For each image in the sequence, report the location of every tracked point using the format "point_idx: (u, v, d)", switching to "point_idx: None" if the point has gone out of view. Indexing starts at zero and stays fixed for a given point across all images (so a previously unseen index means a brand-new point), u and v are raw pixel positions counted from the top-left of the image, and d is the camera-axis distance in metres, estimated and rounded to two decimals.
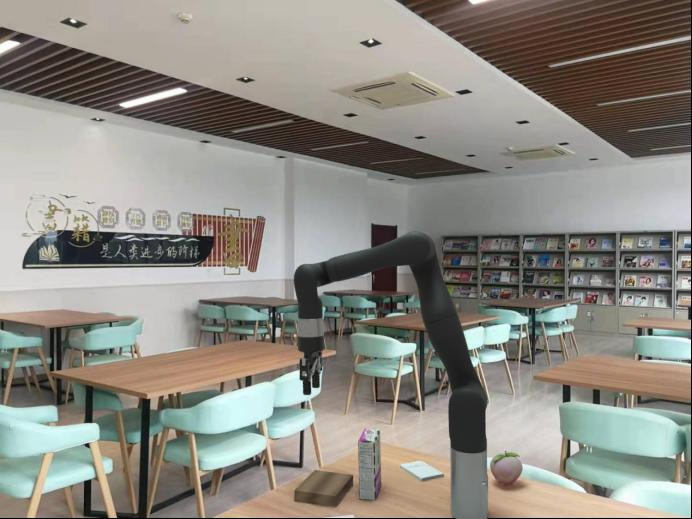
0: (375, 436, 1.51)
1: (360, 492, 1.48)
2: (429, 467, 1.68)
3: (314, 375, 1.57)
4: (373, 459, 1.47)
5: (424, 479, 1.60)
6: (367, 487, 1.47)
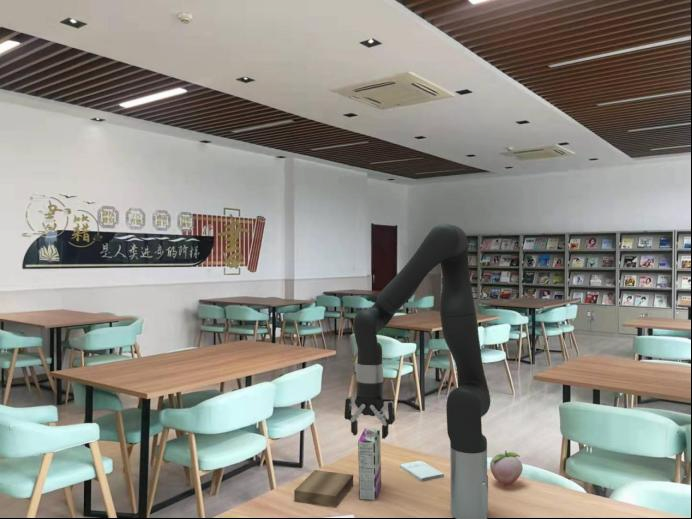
0: (375, 436, 1.51)
1: (360, 492, 1.48)
2: (429, 467, 1.68)
3: (355, 422, 1.54)
4: (373, 459, 1.47)
5: (424, 479, 1.60)
6: (367, 487, 1.47)
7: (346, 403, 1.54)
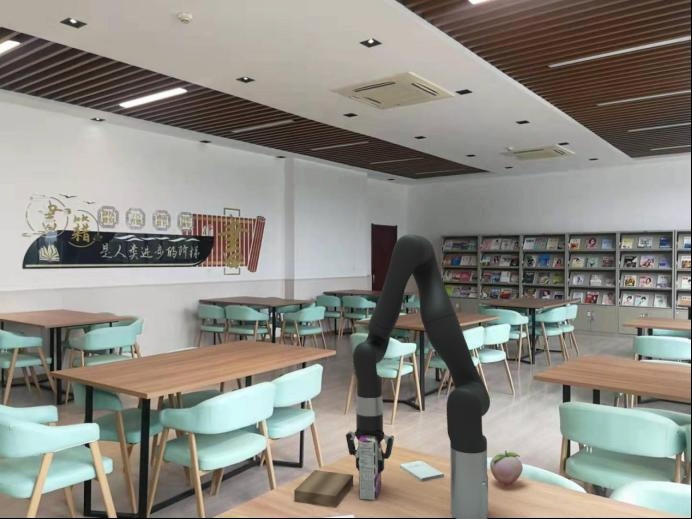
0: (375, 436, 1.51)
1: (360, 492, 1.48)
2: (429, 467, 1.68)
3: None
4: (373, 459, 1.47)
5: (424, 479, 1.60)
6: (367, 487, 1.47)
7: (347, 439, 1.54)
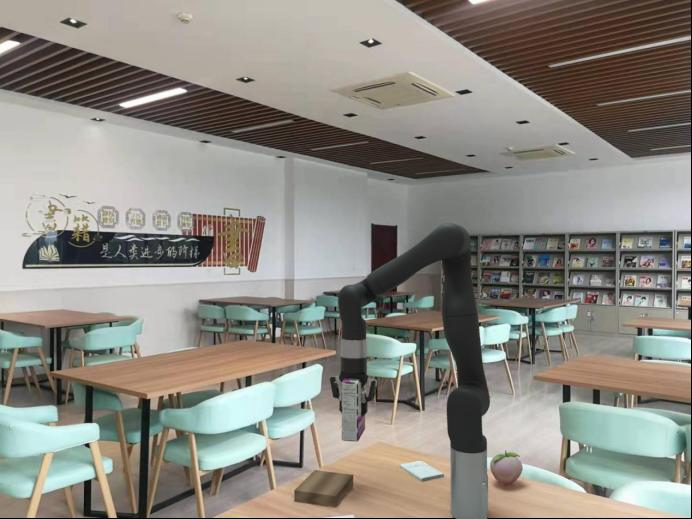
0: (359, 379, 1.51)
1: (343, 433, 1.48)
2: (429, 467, 1.68)
3: None
4: (356, 400, 1.47)
5: (424, 479, 1.60)
6: (350, 428, 1.48)
7: (331, 382, 1.54)
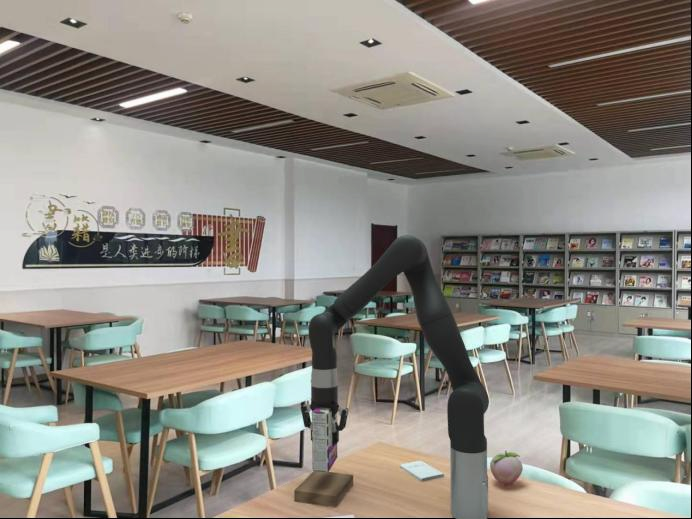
0: (330, 408, 1.51)
1: (313, 463, 1.48)
2: (429, 467, 1.68)
3: None
4: (326, 430, 1.47)
5: (424, 479, 1.60)
6: (320, 458, 1.47)
7: (302, 411, 1.53)
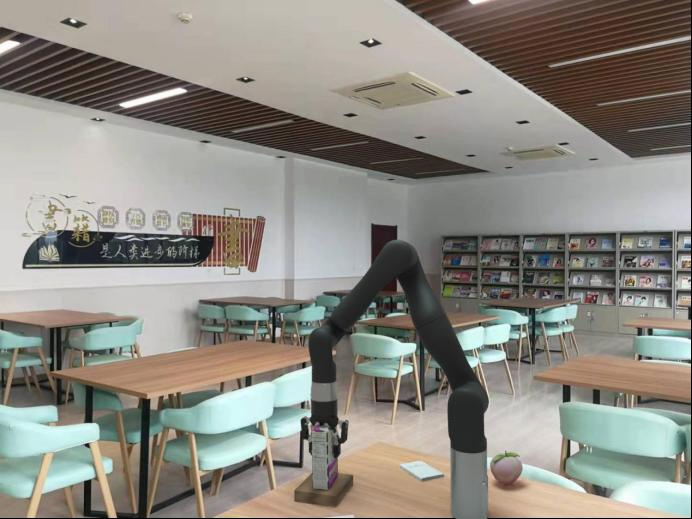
0: (330, 426, 1.51)
1: (313, 482, 1.47)
2: (429, 467, 1.68)
3: None
4: (326, 449, 1.47)
5: (424, 479, 1.60)
6: (320, 476, 1.47)
7: (301, 423, 1.53)
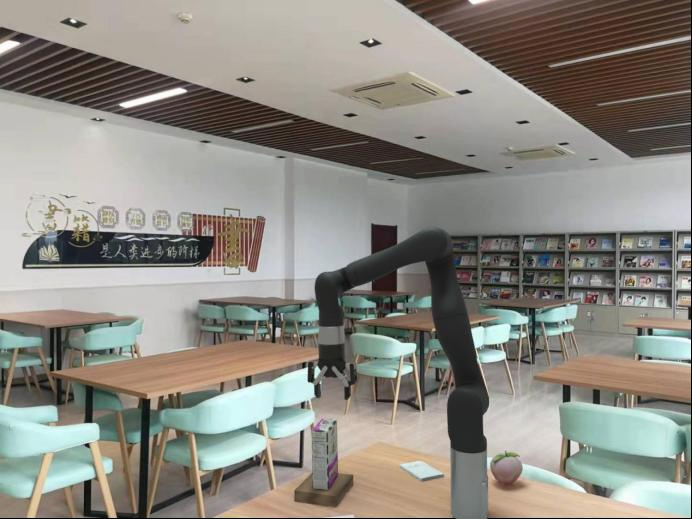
0: (330, 426, 1.51)
1: (313, 482, 1.47)
2: (429, 467, 1.68)
3: (318, 385, 1.55)
4: (326, 449, 1.47)
5: (424, 479, 1.60)
6: (320, 476, 1.47)
7: (309, 366, 1.54)
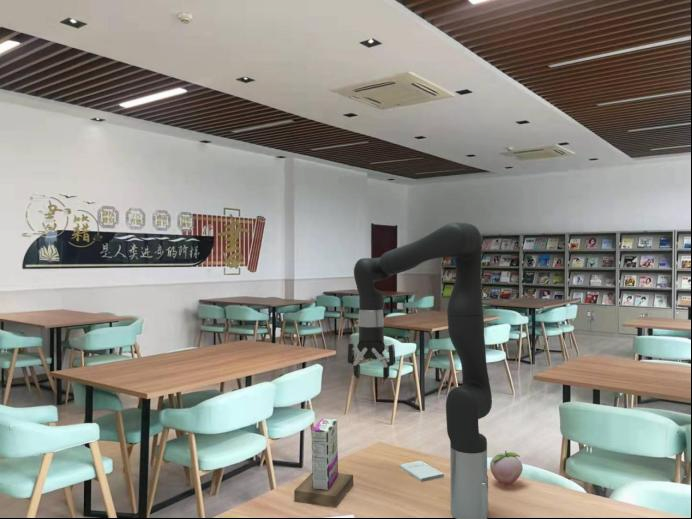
0: (330, 426, 1.51)
1: (313, 482, 1.47)
2: (429, 467, 1.68)
3: (358, 365, 1.63)
4: (326, 449, 1.47)
5: (424, 479, 1.60)
6: (320, 476, 1.47)
7: (349, 348, 1.63)
